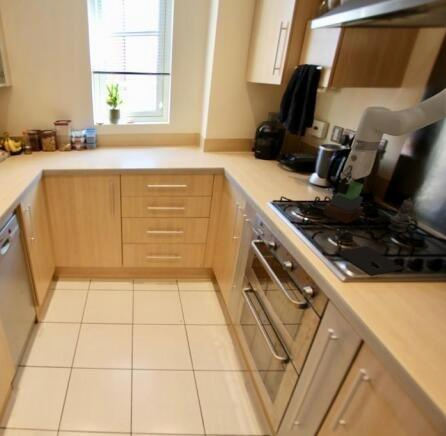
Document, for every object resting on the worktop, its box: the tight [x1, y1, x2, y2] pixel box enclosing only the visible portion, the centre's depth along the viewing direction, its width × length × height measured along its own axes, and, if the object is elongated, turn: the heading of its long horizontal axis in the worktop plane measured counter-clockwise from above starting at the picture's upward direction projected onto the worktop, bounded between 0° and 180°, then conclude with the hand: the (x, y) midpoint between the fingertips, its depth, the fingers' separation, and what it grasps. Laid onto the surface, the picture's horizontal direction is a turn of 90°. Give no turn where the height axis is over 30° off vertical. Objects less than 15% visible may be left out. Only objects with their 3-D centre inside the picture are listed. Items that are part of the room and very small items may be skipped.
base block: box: [322, 201, 365, 224], centre depth 121 cm, size 9×9×4 cm
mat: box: [335, 246, 405, 277], centre depth 96 cm, size 12×12×1 cm
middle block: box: [329, 192, 364, 211], centre depth 119 cm, size 7×7×4 cm
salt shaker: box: [387, 197, 415, 233], centre depth 110 cm, size 6×6×12 cm
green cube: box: [337, 180, 364, 200], centre depth 117 cm, size 5×5×5 cm
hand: (349, 190), depth 117 cm, fingers open, 9 cm apart
